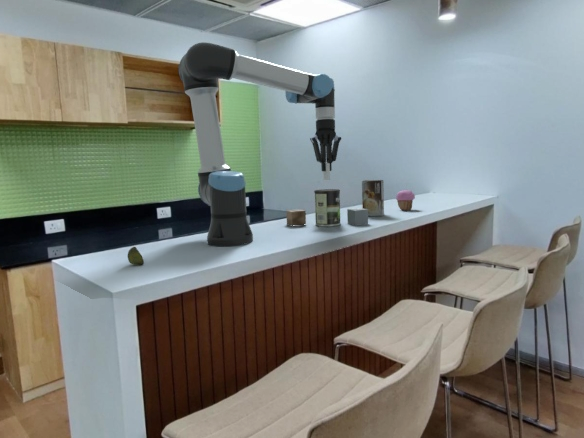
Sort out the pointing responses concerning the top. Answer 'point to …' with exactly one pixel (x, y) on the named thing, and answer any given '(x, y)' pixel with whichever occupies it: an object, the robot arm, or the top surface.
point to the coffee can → (327, 207)
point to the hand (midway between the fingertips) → (326, 179)
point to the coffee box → (373, 197)
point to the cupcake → (405, 199)
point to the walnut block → (296, 217)
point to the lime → (135, 256)
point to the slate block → (357, 216)
